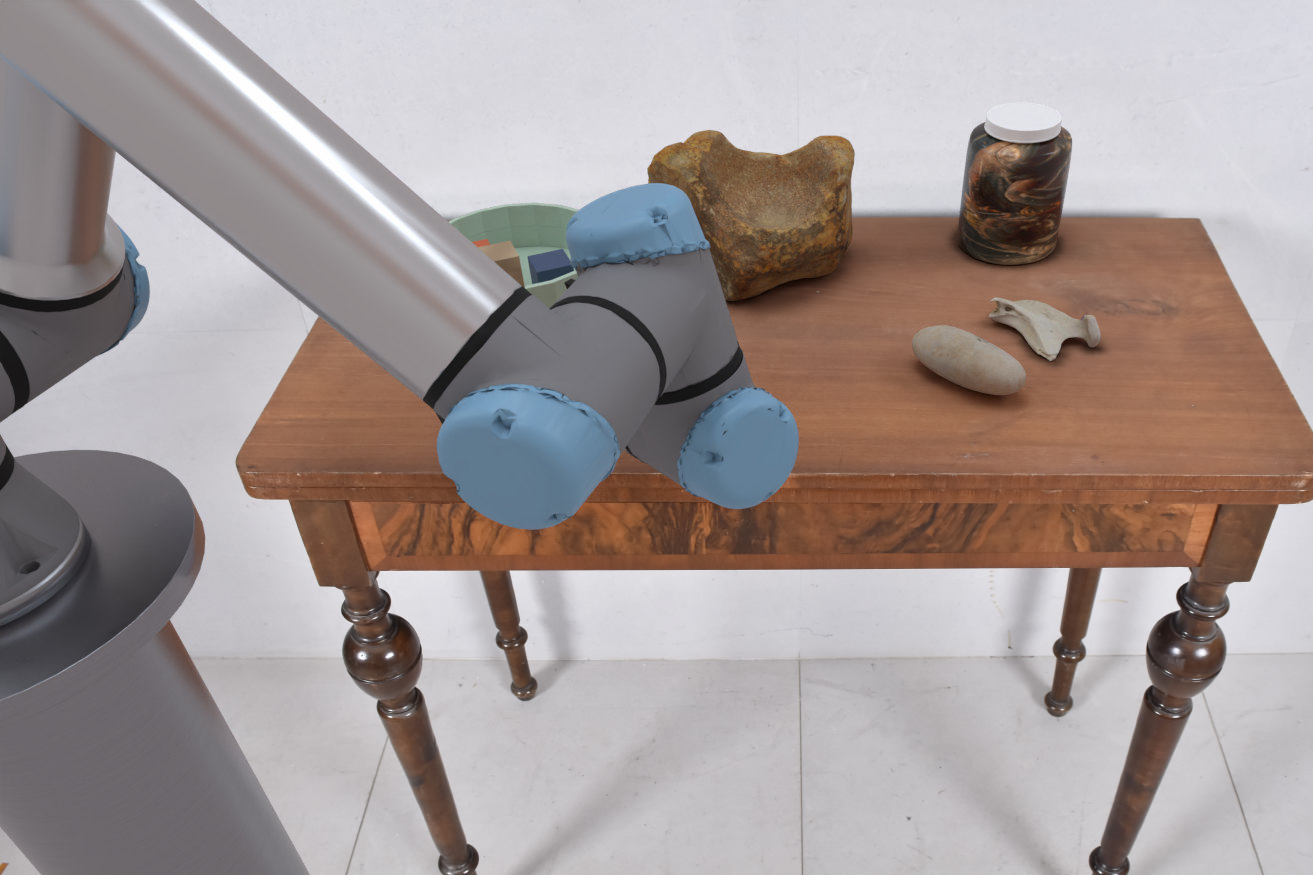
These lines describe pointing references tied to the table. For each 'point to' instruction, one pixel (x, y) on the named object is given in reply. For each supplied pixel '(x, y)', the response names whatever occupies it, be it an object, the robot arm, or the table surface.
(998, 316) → the fossil
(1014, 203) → the jar
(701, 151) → the rough brown rock
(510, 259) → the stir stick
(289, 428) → the table surface
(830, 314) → the table surface
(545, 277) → the slate block
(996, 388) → the stone
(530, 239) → the bowl
